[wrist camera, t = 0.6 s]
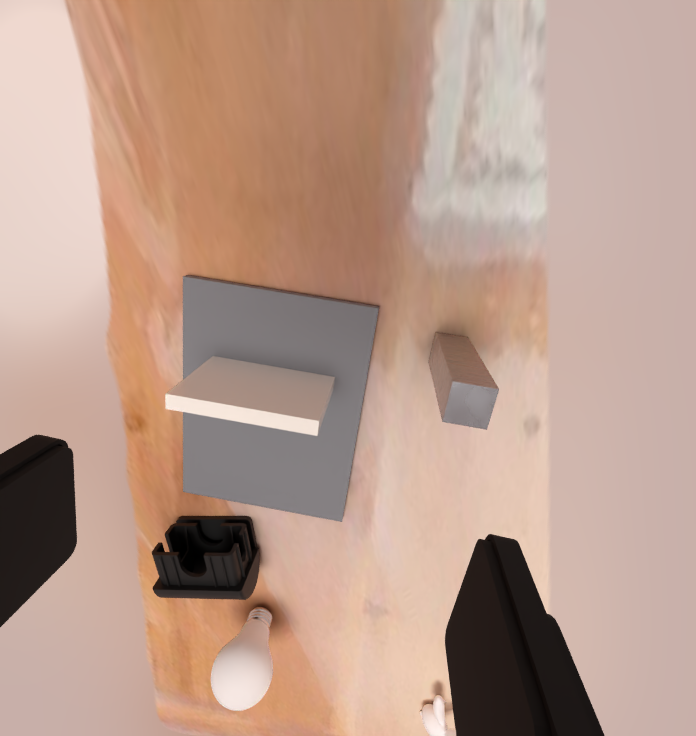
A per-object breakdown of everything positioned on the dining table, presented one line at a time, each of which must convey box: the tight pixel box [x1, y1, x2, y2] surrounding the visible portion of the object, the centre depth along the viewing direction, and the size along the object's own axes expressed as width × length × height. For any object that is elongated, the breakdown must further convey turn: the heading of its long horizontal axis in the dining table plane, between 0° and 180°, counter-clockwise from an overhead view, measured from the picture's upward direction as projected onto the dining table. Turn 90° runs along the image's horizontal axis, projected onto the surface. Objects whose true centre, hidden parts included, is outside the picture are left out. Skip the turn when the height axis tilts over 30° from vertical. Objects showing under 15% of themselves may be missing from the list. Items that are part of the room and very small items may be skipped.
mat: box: [183, 275, 379, 522], centre depth 42 cm, size 24×18×1 cm
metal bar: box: [429, 332, 499, 430], centre depth 33 cm, size 3×3×12 cm
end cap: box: [152, 516, 260, 600], centre depth 47 cm, size 10×7×7 cm
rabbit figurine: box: [420, 695, 456, 736], centre depth 54 cm, size 6×4×8 cm
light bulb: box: [211, 607, 273, 711], centre depth 48 cm, size 7×7×11 cm
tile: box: [165, 356, 335, 436], centre depth 36 cm, size 2×12×9 cm, turn 82°
